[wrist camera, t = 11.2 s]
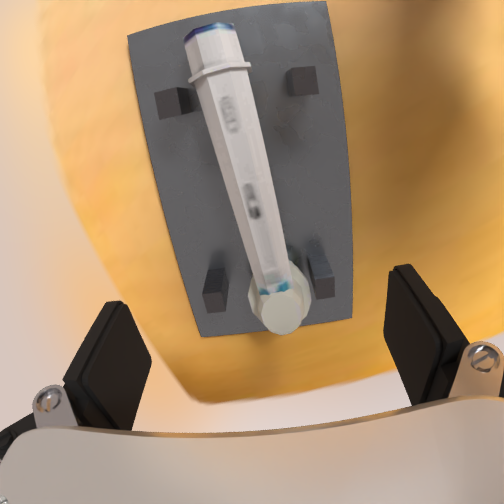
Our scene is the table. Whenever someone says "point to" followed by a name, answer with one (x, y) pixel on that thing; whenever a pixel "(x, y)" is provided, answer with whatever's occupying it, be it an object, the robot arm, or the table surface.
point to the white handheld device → (246, 174)
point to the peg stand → (278, 153)
